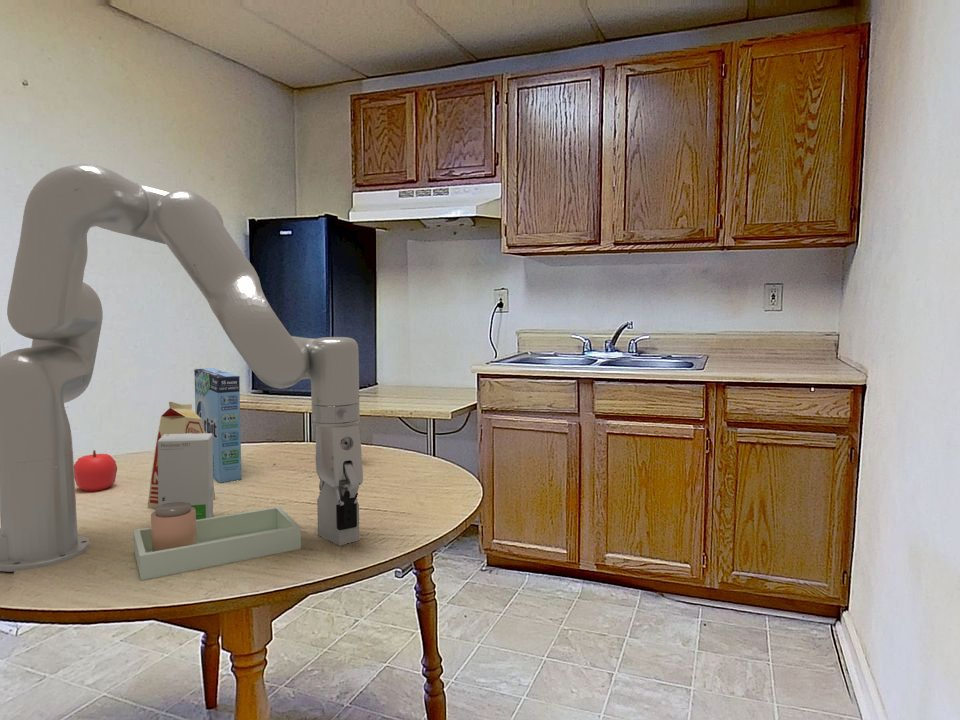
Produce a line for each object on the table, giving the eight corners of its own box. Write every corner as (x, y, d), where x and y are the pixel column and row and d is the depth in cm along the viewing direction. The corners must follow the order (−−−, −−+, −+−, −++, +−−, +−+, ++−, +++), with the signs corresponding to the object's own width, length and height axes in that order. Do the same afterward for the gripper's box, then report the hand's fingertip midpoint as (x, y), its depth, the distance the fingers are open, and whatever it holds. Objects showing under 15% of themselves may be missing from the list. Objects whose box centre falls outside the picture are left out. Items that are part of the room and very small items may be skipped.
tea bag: (339, 546, 104) (338, 484, 103) (317, 535, 108) (316, 476, 108) (359, 540, 106) (358, 480, 105) (337, 530, 111) (336, 472, 110)
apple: (64, 491, 133) (62, 453, 133) (98, 481, 141) (96, 445, 140) (94, 495, 131) (91, 456, 130) (127, 484, 138) (125, 447, 138)
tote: (141, 584, 90) (139, 556, 89) (134, 555, 100) (133, 530, 99) (301, 552, 101) (300, 527, 101) (280, 529, 111) (279, 506, 111)
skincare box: (158, 533, 109) (153, 441, 108) (165, 520, 116) (161, 433, 114) (211, 528, 112) (208, 438, 110) (216, 516, 118) (212, 431, 117)
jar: (154, 569, 93) (152, 516, 92) (150, 555, 98) (148, 504, 97) (200, 560, 96) (198, 509, 96) (194, 547, 101) (192, 498, 101)
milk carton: (189, 511, 121) (185, 404, 119) (145, 508, 123) (140, 402, 121) (218, 497, 130) (214, 396, 128) (177, 494, 132) (173, 395, 130)
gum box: (196, 465, 155) (192, 369, 153) (219, 462, 158) (215, 367, 156) (219, 483, 139) (215, 376, 137) (243, 479, 142) (240, 375, 140)
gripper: (378, 420, 100) (380, 532, 102) (339, 404, 115) (341, 503, 116) (331, 424, 96) (333, 542, 98) (297, 408, 111) (299, 510, 112)
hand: (338, 520), depth 107 cm, fingers closed on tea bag, 7 cm apart
